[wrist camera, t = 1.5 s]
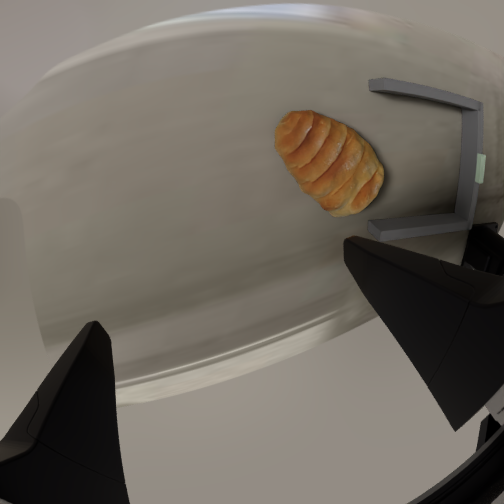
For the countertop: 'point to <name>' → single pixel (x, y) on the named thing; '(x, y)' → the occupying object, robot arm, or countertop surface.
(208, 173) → the countertop surface
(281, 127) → the pastry
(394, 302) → the robot arm
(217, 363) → the countertop surface
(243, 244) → the countertop surface
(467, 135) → the dock
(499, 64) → the countertop surface
